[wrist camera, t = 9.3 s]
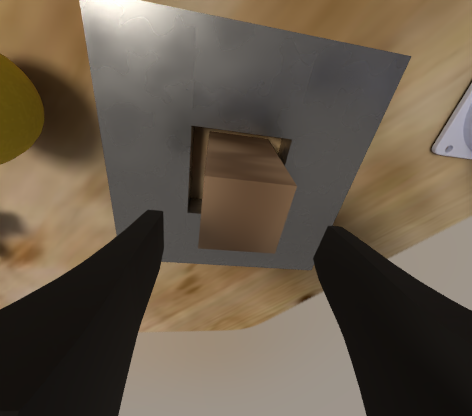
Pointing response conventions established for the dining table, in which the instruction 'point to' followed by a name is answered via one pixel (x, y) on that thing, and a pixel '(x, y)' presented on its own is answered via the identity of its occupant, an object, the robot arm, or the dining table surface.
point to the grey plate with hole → (229, 115)
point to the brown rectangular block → (243, 195)
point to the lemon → (17, 111)
